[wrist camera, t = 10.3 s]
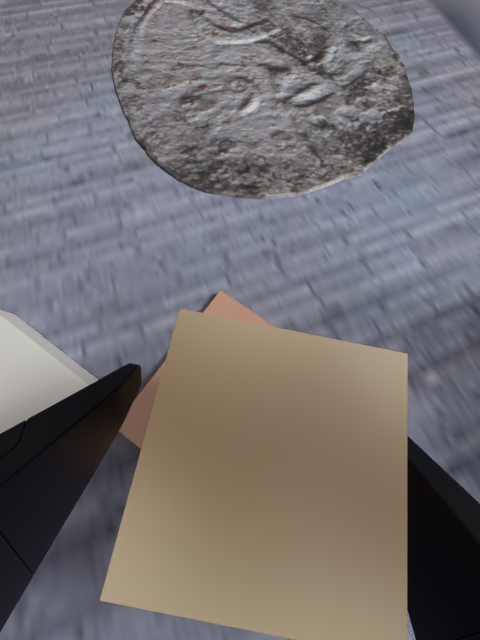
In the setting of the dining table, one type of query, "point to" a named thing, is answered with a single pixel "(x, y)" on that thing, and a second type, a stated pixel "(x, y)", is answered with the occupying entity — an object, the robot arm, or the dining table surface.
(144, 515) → the oak block
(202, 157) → the worn metal disc
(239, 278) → the dining table surface
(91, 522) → the dining table surface
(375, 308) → the dining table surface
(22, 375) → the white square tile
